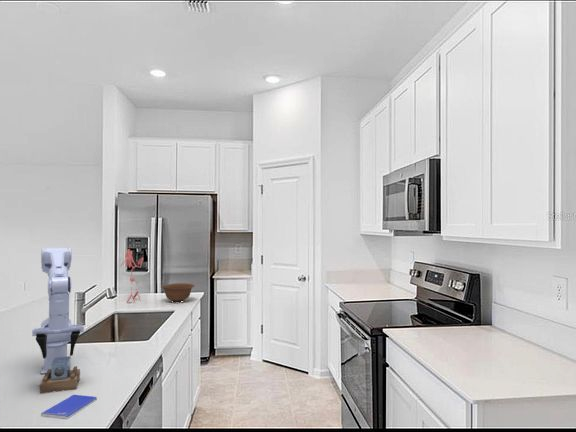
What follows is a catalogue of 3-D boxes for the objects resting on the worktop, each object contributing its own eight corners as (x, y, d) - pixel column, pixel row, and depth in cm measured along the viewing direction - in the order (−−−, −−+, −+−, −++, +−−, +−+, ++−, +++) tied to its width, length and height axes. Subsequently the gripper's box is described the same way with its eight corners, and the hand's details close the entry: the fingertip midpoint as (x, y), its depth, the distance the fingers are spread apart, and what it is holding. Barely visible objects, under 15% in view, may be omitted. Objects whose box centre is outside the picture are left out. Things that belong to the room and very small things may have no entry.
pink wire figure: (146, 298, 288) (146, 247, 289) (131, 305, 263) (131, 250, 263) (125, 298, 289) (124, 248, 289) (107, 305, 263) (107, 250, 264)
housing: (55, 372, 137) (55, 357, 137) (70, 371, 138) (70, 356, 138) (50, 381, 130) (51, 364, 130) (67, 379, 131) (67, 363, 131)
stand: (46, 381, 137) (46, 368, 137) (79, 377, 140) (79, 365, 141) (39, 393, 128) (40, 379, 128) (76, 389, 131) (76, 375, 131)
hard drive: (67, 415, 111) (97, 396, 123) (40, 412, 113) (72, 394, 125) (67, 421, 111) (96, 402, 123) (40, 418, 113) (72, 399, 125)
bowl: (153, 301, 275) (153, 285, 275) (181, 297, 292) (181, 281, 292) (173, 306, 261) (173, 289, 261) (201, 301, 278) (201, 285, 278)
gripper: (30, 318, 128) (29, 362, 128) (82, 314, 133) (81, 357, 133) (35, 313, 135) (34, 355, 135) (84, 310, 140) (84, 350, 140)
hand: (58, 356), depth 134 cm, fingers open, 7 cm apart
